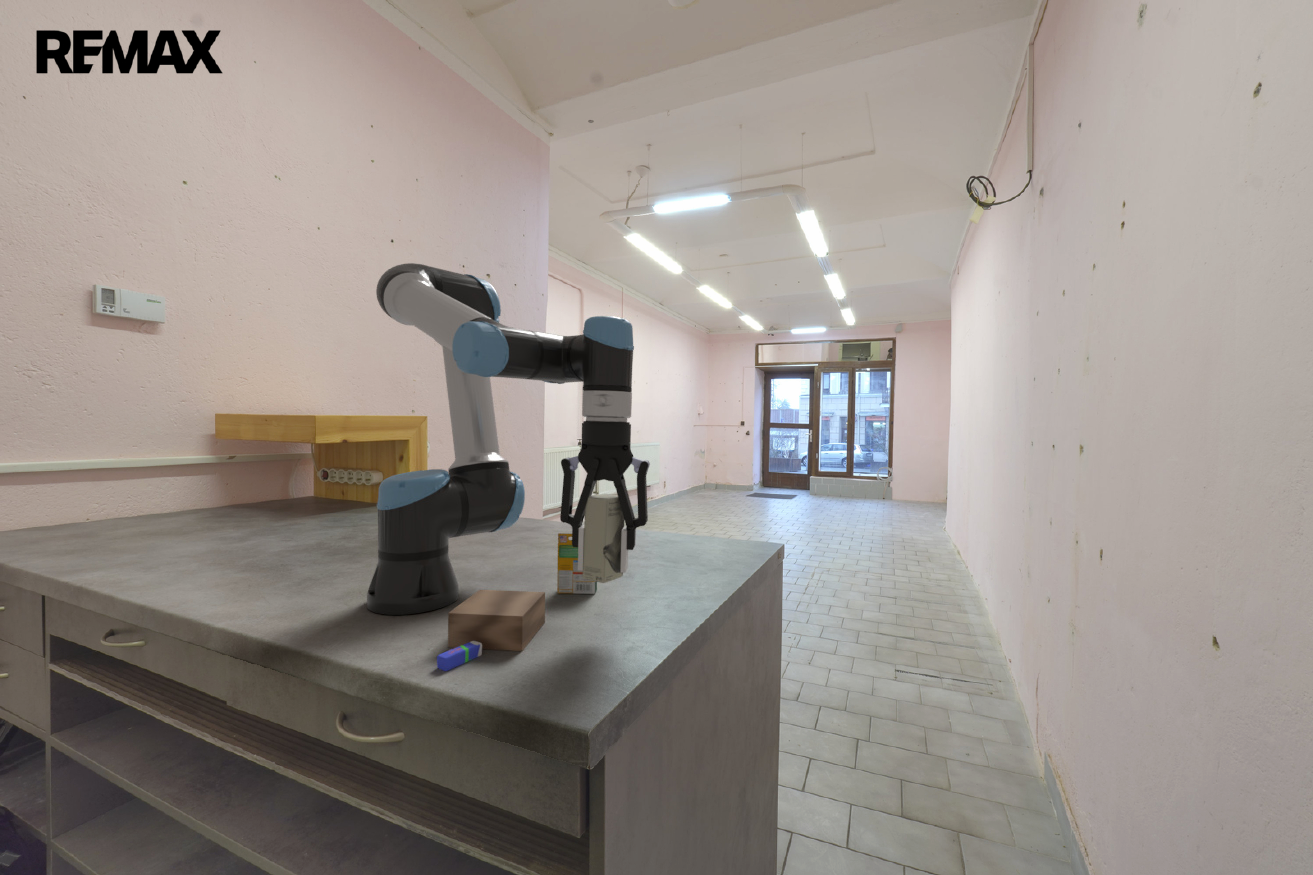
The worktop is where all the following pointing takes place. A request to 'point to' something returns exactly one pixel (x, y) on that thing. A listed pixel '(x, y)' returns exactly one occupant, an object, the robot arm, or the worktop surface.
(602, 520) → the box
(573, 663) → the worktop surface
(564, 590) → the crayon box
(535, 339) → the robot arm
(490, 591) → the block
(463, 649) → the eraser
